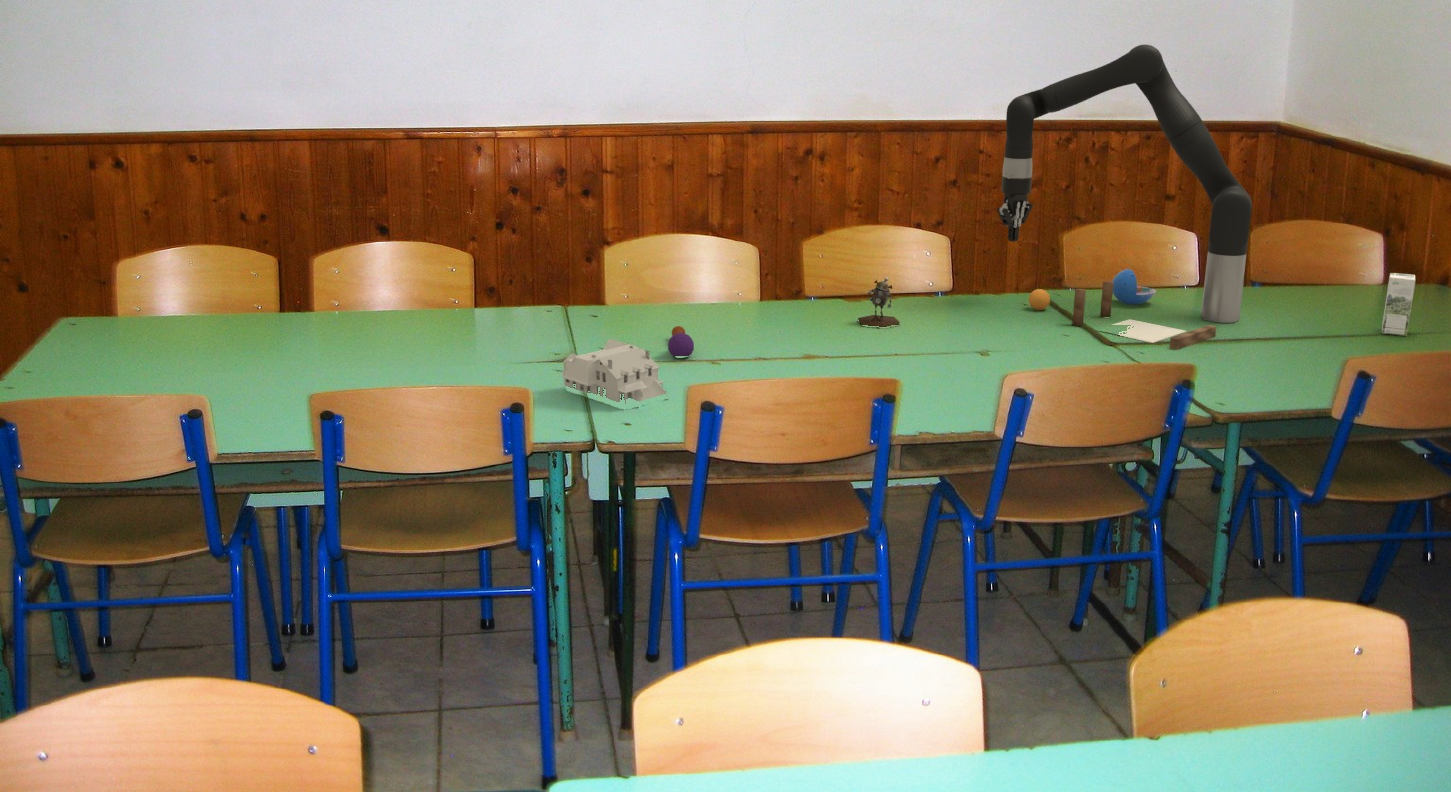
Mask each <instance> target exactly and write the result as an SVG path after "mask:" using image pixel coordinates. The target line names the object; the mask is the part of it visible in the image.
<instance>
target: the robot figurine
mask: <svg viewBox="0 0 1451 792" xmlns="http://www.w3.org/2000/svg"><path fill="white" fill-rule="evenodd" d="M889 280H890V279H889V277H888V276H885V278H884V280H881V281H879V282H878V279H876V280H875V281H873V283H874V284H876V285H875V288H873V289H869V290H868V292H867V295H868V297H869V301H870V302H872V304H873V305H874V309H875V310H874V314H871V315H866V316H862V317H861V316H860V317H858V318H857V321H858V320H859V322H860V323H861V324H862V325H868V326H879V327H887V326H891V325H899V326H900V321H899V320H898V319H897V318H896V317H895V316H888V315H884V313H883V309H884V306H886V305H887V307H886V309H892V308H891V307H892V301H893V300H892V296H893V295H892V294H891V291H890V290H892V289H893V285H892V284H890V285H889V284H888V283H887V282H888V281H889ZM871 294H872V297H870V296H871ZM888 301H889V303H888ZM887 303H888V304H887ZM878 307H879V308H880V312H879V314H880V315H879V314H877V308H878ZM859 322H858V323H859ZM860 323H859V324H860ZM861 324H860V325H861ZM862 325H861V326H862Z"/></svg>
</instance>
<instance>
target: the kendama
mask: <svg viewBox="0 0 1451 792" xmlns="http://www.w3.org/2000/svg"><path fill="white" fill-rule="evenodd" d="M667 348H668V352H669V354H670V355H671V356H672V355H673V356H689V355H690V356H691V355H692V353H693V351H694V350H695V343H694V341H693V339H692V337H691V336H690V335H689V334H687V333H686V329H685V328H684V327H682V326H680V325H676V326H674V327H673V328H672V330H671V337H670V338H669V340H668V342H667ZM673 356H672V357H673ZM690 356H689V357H690Z"/></svg>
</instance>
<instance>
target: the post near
mask: <svg viewBox="0 0 1451 792" xmlns="http://www.w3.org/2000/svg"><path fill="white" fill-rule="evenodd" d="M1086 291H1087V290H1086V289H1083V288H1075V289H1074V297H1073V299H1074V300H1073V311H1072V312H1073V313H1072V326H1074V327H1083V326H1084V315H1085V304H1086Z"/></svg>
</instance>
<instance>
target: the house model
mask: <svg viewBox="0 0 1451 792" xmlns="http://www.w3.org/2000/svg"><path fill="white" fill-rule="evenodd" d="M602 348H603V349H601V350H595V351H592V352H589V353H584V354H579V355H578V354H575V353H570V355H568V356H567V357H566V358H565V359H564V360H563V371H562V372H561V373H562V376H561V377H562V378H563V381H564V385H565V386H568V387H570V388H574V389H576V390H579V391H582V392H584V393H593V394H596V395H597V394H598V387H600V391H599V392H600V393H599V394H600V396H602V397H603V393H604V392H603V391H604V390H603V388H604V389H606V395H605V396H606V398H608V399H610V400H613V401H616V402H620V399H621V400H622V396H623V395H622V394H624V397H623V398H624V400H625V404H626V399H628V398H631V399H634V400H636V401H639V402H641V401H642V400H645V399H649V398H652V397H656V396H660V395H663V394H666V395H667V392H666V390H665V388H664V383H665V381H662V380H660V379H659V369H660V366H659V364H658V363H656V361H654V360H653V358H652V357H651V356H650V355H651V353H650V350H648V349H646V350H644V349H643V348H640V347H638V346H635V345H634V344H630V343H625V342H623V341H620V340H619V341H618V340H615V339H612V338H609V339H608V340H607V342H606V343H605V345H604V347H602ZM573 384H576V388H575V387H573ZM565 386H564V387H565ZM574 386H575V385H574ZM588 391H590V392H588ZM620 394H621V398H620Z"/></svg>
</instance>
